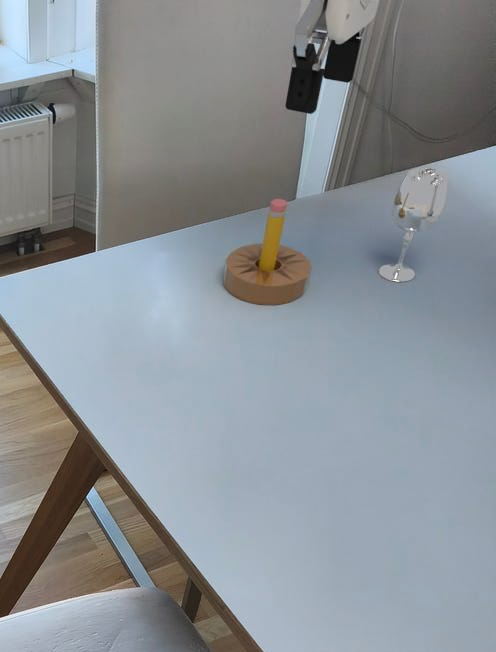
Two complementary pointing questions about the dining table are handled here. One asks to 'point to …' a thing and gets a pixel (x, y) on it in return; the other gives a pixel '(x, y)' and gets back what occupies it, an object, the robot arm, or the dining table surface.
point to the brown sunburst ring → (266, 276)
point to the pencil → (272, 234)
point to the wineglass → (416, 212)
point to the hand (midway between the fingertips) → (319, 94)
